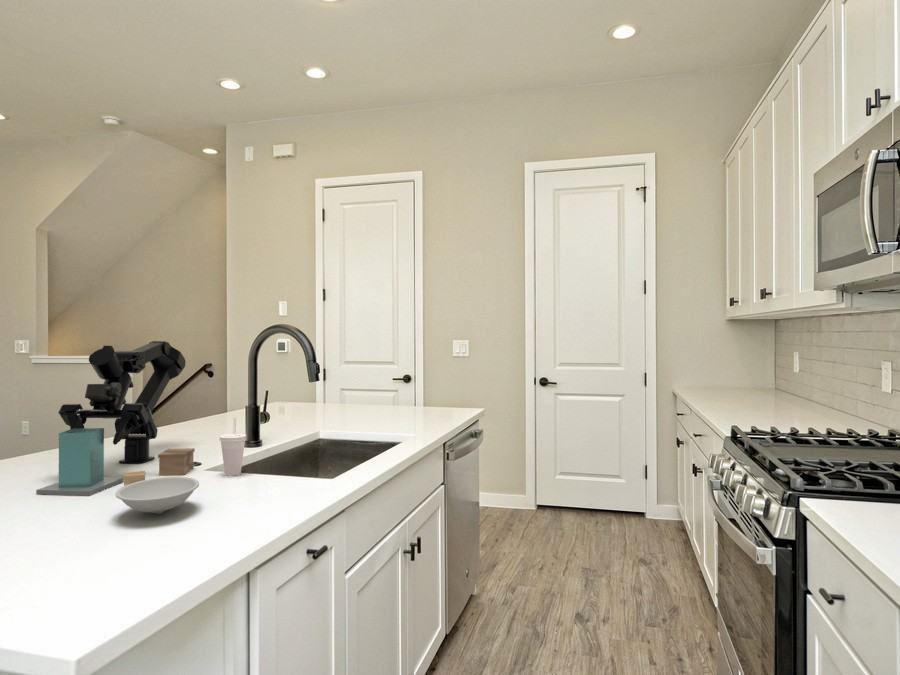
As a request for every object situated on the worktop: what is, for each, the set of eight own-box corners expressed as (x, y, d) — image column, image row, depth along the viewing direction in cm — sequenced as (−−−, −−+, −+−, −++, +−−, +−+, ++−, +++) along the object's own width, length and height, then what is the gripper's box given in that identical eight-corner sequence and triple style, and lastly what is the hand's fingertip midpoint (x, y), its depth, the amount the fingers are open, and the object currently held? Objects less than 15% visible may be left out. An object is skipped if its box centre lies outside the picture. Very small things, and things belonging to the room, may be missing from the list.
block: (125, 489, 133) (125, 472, 133) (145, 488, 135) (145, 470, 135) (124, 494, 129) (124, 476, 129) (144, 492, 131) (144, 474, 131)
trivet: (74, 480, 140) (74, 476, 140) (123, 482, 139) (123, 477, 139) (36, 494, 128) (36, 489, 128) (89, 495, 127) (89, 491, 127)
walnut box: (168, 468, 153) (168, 448, 153) (194, 468, 154) (194, 448, 154) (157, 475, 146) (158, 454, 146) (185, 475, 147) (185, 454, 147)
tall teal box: (73, 480, 136) (74, 428, 136) (103, 479, 137) (103, 428, 137) (58, 487, 130) (58, 433, 130) (90, 486, 131) (90, 432, 131)
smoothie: (251, 472, 150) (252, 417, 149) (232, 478, 144) (233, 420, 144) (232, 470, 152) (233, 415, 152) (213, 475, 146) (213, 419, 146)
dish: (137, 501, 124) (137, 477, 124) (209, 499, 126) (209, 475, 126) (99, 528, 106) (99, 501, 106) (183, 525, 108) (183, 498, 108)
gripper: (62, 370, 142) (36, 424, 132) (143, 370, 145) (124, 423, 134) (78, 399, 150) (55, 451, 140) (156, 398, 153) (139, 450, 142)
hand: (93, 444), depth 139 cm, fingers open, 9 cm apart
